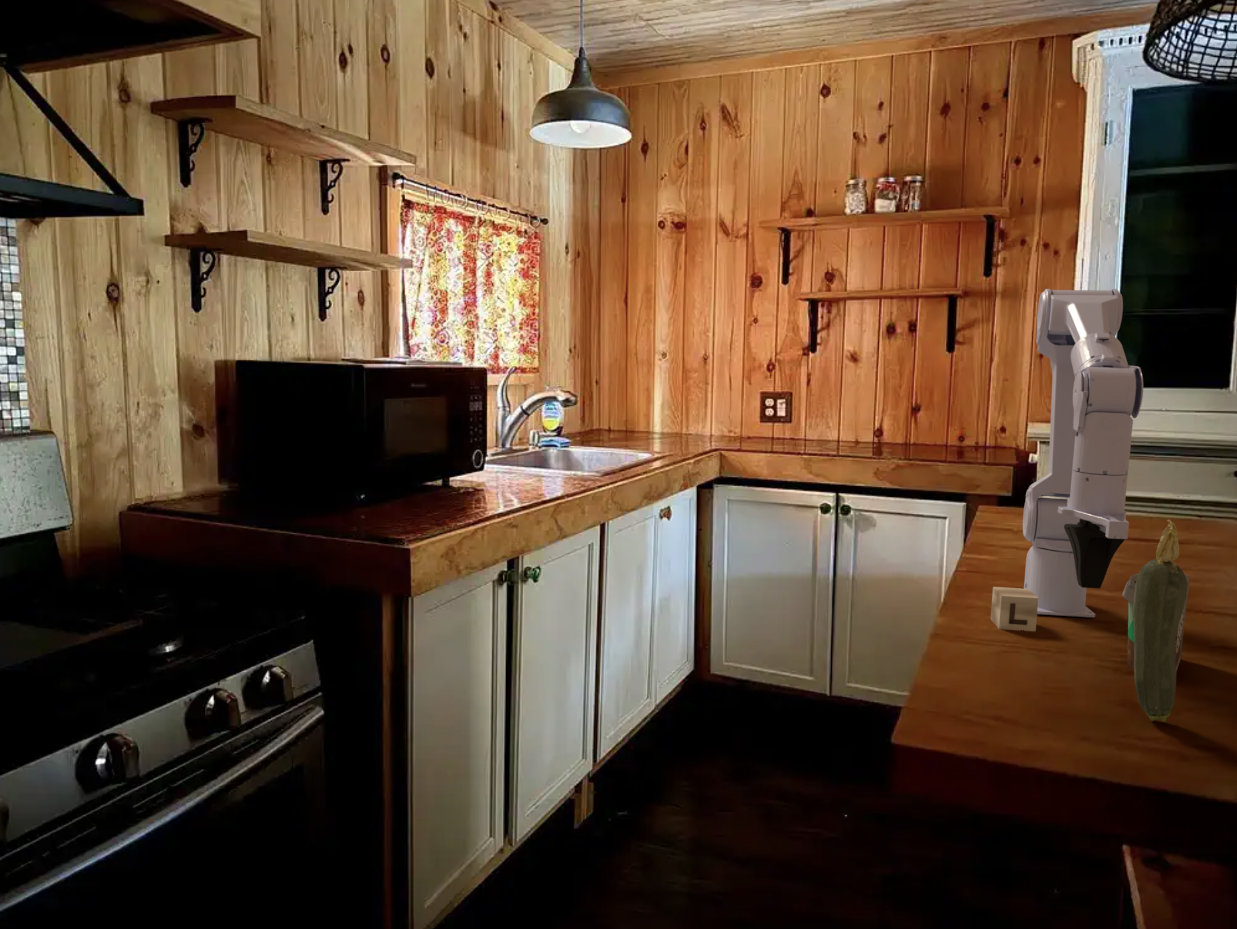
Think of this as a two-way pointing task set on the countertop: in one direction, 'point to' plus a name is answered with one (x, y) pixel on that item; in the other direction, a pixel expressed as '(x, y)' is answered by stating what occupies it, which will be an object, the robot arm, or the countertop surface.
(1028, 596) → the letter cube
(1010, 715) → the countertop surface
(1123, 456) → the robot arm
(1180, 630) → the food container
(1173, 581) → the vegetable
